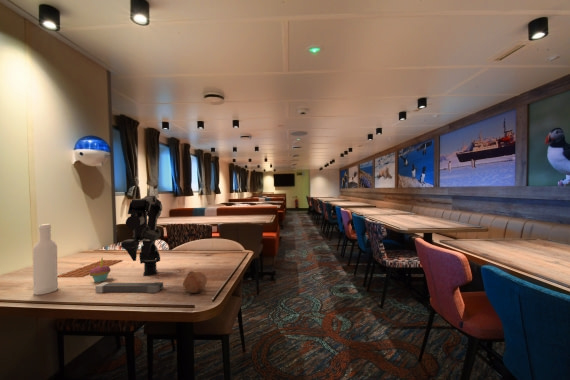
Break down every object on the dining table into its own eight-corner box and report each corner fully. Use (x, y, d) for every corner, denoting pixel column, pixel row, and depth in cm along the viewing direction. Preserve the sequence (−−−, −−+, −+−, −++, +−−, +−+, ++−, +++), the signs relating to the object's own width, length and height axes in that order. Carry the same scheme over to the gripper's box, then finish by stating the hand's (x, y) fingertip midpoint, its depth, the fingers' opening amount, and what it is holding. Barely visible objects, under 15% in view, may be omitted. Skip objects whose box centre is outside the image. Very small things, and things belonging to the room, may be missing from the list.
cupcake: (114, 278, 123) (114, 255, 123) (95, 284, 115) (95, 259, 115) (104, 276, 126) (104, 253, 126) (85, 282, 119) (85, 257, 119)
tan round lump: (187, 298, 105) (178, 277, 107) (207, 287, 111) (199, 267, 112) (190, 298, 98) (181, 275, 99) (212, 286, 103) (203, 264, 105)
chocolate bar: (123, 261, 155) (123, 259, 155) (81, 278, 126) (81, 276, 126) (102, 261, 156) (102, 259, 156) (55, 278, 126) (55, 276, 126)
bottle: (35, 296, 103) (35, 226, 103) (30, 292, 107) (29, 225, 107) (60, 289, 110) (59, 223, 110) (54, 286, 114) (53, 222, 114)
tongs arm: (108, 289, 108) (108, 284, 108) (112, 287, 111) (112, 282, 111) (160, 289, 107) (160, 284, 107) (163, 287, 110) (163, 282, 110)
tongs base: (94, 293, 106) (94, 286, 106) (103, 288, 110) (103, 282, 110) (156, 293, 104) (156, 286, 104) (162, 288, 109) (162, 282, 109)
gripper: (144, 228, 105) (144, 264, 105) (167, 222, 124) (168, 252, 124) (119, 228, 106) (120, 264, 106) (146, 222, 124) (147, 252, 125)
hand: (141, 257), depth 115 cm, fingers open, 9 cm apart
